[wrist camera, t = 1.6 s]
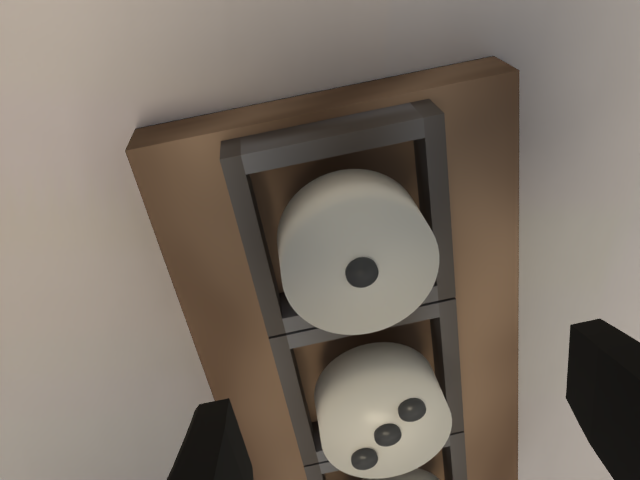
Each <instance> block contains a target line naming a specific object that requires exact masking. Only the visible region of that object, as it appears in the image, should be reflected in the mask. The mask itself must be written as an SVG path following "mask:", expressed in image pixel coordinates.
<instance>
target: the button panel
mask: <svg viewBox="0 0 640 480" xmlns="http://www.w3.org/2000/svg"><path fill="white" fill-rule="evenodd" d="M125 152H126V154H127V157H128V160H129V163H130V166H131V168H132V171H133V174H134V177H135V180H136V182H137V185H138V188H139V191H140V194H141V196H142V199H143V202H144V205H145V207H146V210H147V213H148V216H149V219H150V221H151V224H152V227H153V230H154V233H155V235H156V238H157V241H158V244H159V246H160V249H161V252H162V255H163V258H164V260H165V263H166V266H167V269H168V272H169V274H170V277H171V280H172V283H173V286H174V288H175V291H176V294H177V297H178V299H179V302H180V305H181V308H182V311H183V313H184V316H185V319H186V322H187V325H188V327H189V330H190V333H191V336H192V338H193V341H194V344H195V347H196V350H197V352H198V355H199V358H200V361H201V364H202V366H203V369H204V372H205V375H206V378H207V380H208V383H209V386H210V389H211V391H212V394H213V397H214V400H215V401H218V400H223V399H227V398H229V399H230V402H231V405H232V408H233V411H234V413H235V416H236V419H237V422H238V425H239V428H240V431H241V434H242V437H243V440H244V443H245V446H246V449H247V452H248V455H249V458H250V461H251V464H252V468H253V479H254V480H362V479H364V478H360V477H355V476H352V475H349V474H346V473H344V472H342V471H340V470H339V469H337V468H336V467H335V466H333V465H332V464H331V463H330V462H329V460H328V459H327V458H326V456H325V454H324V452H323V449H322V445H321V439H320V432H319V426H318V420H317V413H316V407H315V401H314V390H315V385H316V383H317V380H318V378H319V376H320V374H321V373H322V371H323V370H324V369H325V367H326V366H327V365H328V364H329V363H330V362H331V361H333V360H334V359H335V358H336V357H338V356H339V355H341V354H343V353H344V352H346V351H348V350H350V349H353V348H355V347H358V346H361V345H365V344H369V343H376V342H392V343H398V344H402V345H406V346H408V347H411V348H413V349H415V350H416V351H418V352H419V353H421V354H422V355H423V356H424V357H425V358H426V359H427V360H428V362H429V363H430V365H431V367H432V369H433V372H434V374H435V376H436V379H437V381H438V383H439V386H440V388H441V390H442V393H443V395H444V397H445V400H446V402H447V404H448V407H449V409H450V412H451V416H452V428H451V432H450V435H449V438H448V440H447V441H446V443H445V445H444V446H443V448H442V449H441V450H440V451H439V452H438V453H437V454H436V455H435V456H434V457H433V458H432V459H431V460H429V461H428V462H427V463H425V464H424V465H422V466H420V467H418V468H419V469H423V470H426V471H428V472H430V473H432V474H434V475H435V476H436V477H437V478H438V479H439V480H518V278H519V70H518V69H516V68H514V67H513V66H511V65H509V64H507V63H505V62H504V61H502V60H500V59H498V58H497V57H495V56H492V57H487V58H482V59H477V60H472V61H467V62H462V63H457V64H452V65H447V66H443V67H438V68H433V69H428V70H423V71H418V72H413V73H408V74H403V75H398V76H393V77H389V78H384V79H379V80H374V81H369V82H364V83H359V84H354V85H349V86H344V87H339V88H334V89H330V90H325V91H320V92H315V93H310V94H305V95H300V96H295V97H290V98H285V99H280V100H276V101H271V102H266V103H261V104H256V105H251V106H246V107H241V108H236V109H231V110H226V111H221V112H217V113H212V114H207V115H202V116H197V117H192V118H187V119H182V120H177V121H172V122H167V123H162V124H158V125H153V126H148V127H143V128H138V129H135V131H134V133H133V135H132V137H131V139H130V141H129V144H128V146H127V148H126V150H125ZM345 169H365V170H371V171H375V172H379V173H381V174H384V175H386V176H388V177H390V178H392V179H394V180H395V181H396V182H398V183H399V184H400V185H401V186H402V187H403V188H404V189H405V190H406V191H407V192H408V193H409V195H410V196H411V197H412V199H413V201H414V202H415V204H416V205H417V207H418V209H419V210H420V212H421V214H422V215H423V217H424V219H425V220H426V222H427V223H428V225H429V227H430V228H431V230H432V232H433V234H434V236H435V238H436V241H437V244H438V249H439V269H438V274H437V277H436V281H435V283H434V285H433V288H432V290H431V291H430V293H429V294H428V296H427V298H426V299H425V300H424V301H423V303H422V304H421V305H420V306H419V307H418V308H417V309H416V310H415V311H414V312H413V313H411V314H410V315H409V316H408V317H406V318H405V319H403V320H402V321H400V322H398V323H396V324H395V325H393V326H391V327H388V328H385V329H383V330H380V331H376V332H373V333H367V334H360V335H343V334H336V333H331V332H328V331H324V330H322V329H319V328H317V327H315V326H313V325H311V324H310V323H308V322H307V321H305V320H304V319H303V318H301V317H300V316H299V315H298V314H297V313H296V312H295V311H294V309H293V308H292V306H291V305H290V304H289V302H288V300H287V298H286V296H285V293H284V290H283V286H282V279H281V271H280V263H279V255H278V246H277V231H278V225H279V222H280V218H281V216H282V213H283V211H284V209H285V208H286V206H287V204H288V203H289V201H290V200H291V199H292V198H293V196H294V195H295V194H296V193H297V192H298V191H299V190H300V189H301V188H302V187H304V186H305V185H307V184H308V183H309V182H311V181H313V180H314V179H316V178H318V177H320V176H323V175H325V174H327V173H331V172H334V171H338V170H345Z"/></svg>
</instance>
